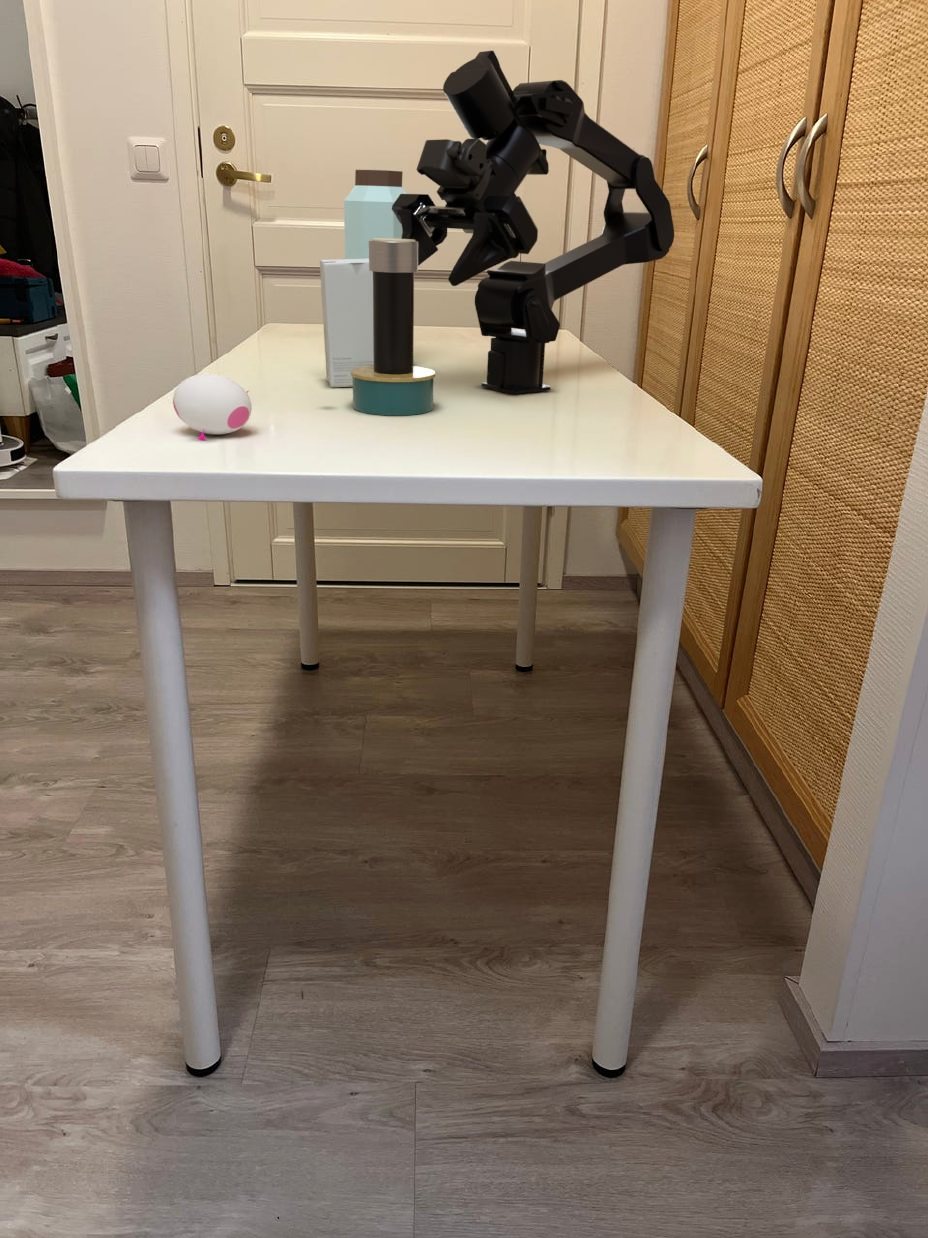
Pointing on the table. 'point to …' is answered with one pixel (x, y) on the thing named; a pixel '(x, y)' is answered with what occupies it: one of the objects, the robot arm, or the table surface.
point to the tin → (392, 391)
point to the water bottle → (371, 210)
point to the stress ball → (212, 404)
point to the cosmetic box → (347, 317)
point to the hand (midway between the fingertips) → (422, 279)
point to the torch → (393, 303)
